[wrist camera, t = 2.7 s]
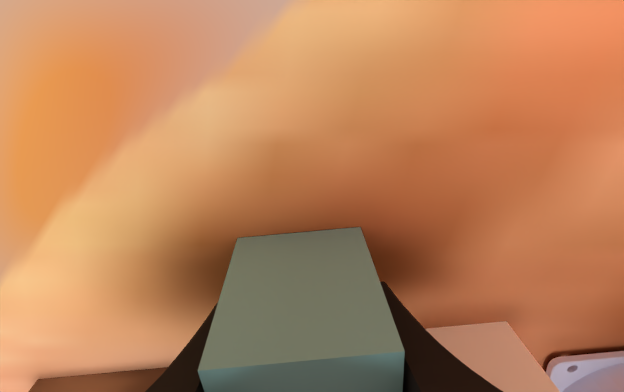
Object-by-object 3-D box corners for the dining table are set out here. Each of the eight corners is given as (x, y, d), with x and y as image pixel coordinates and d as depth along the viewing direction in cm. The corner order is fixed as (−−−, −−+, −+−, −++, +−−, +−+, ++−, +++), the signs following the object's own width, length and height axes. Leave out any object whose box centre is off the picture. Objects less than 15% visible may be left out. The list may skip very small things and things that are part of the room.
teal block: (360, 226, 13) (404, 351, 8) (362, 319, 16) (398, 467, 10) (237, 238, 13) (197, 370, 8) (255, 329, 15) (234, 483, 10)
